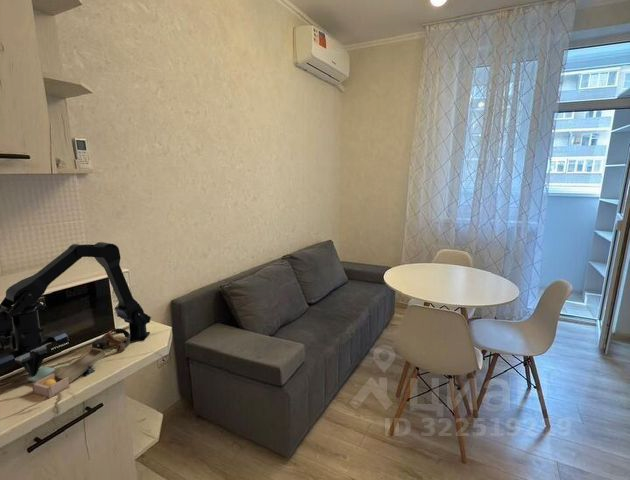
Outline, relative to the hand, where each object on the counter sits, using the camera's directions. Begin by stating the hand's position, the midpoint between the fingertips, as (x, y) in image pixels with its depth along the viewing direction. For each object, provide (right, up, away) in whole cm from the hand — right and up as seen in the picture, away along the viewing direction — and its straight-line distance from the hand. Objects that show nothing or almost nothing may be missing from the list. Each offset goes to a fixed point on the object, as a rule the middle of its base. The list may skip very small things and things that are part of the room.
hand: (33, 375), depth 96 cm
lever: (+8, +1, +4) cm, 9 cm away
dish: (+9, -3, -4) cm, 10 cm away
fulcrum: (+12, -1, +5) cm, 13 cm away
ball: (+9, -1, -5) cm, 10 cm away
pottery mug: (+11, +1, +19) cm, 22 cm away
